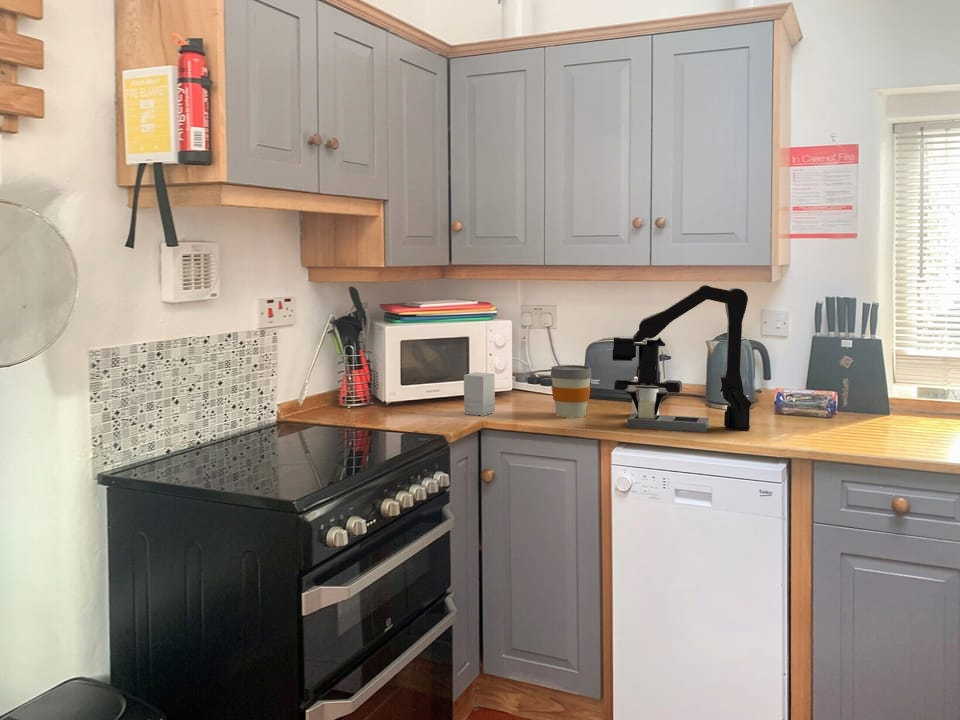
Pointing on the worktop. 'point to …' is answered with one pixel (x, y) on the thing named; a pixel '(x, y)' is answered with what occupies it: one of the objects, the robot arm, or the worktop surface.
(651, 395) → the beverage can
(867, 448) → the worktop surface
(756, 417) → the worktop surface
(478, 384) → the supplement box
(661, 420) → the grey compartment tray
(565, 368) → the reusable coffee cup
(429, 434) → the worktop surface
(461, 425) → the worktop surface
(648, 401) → the block
